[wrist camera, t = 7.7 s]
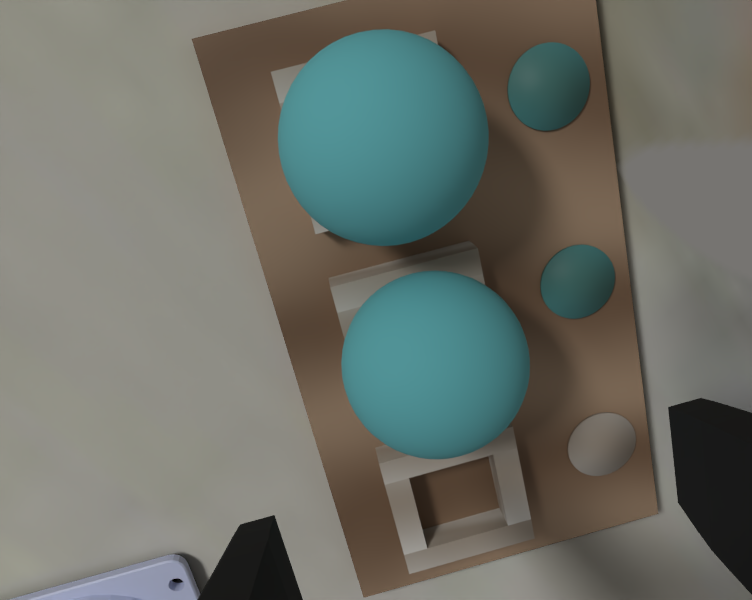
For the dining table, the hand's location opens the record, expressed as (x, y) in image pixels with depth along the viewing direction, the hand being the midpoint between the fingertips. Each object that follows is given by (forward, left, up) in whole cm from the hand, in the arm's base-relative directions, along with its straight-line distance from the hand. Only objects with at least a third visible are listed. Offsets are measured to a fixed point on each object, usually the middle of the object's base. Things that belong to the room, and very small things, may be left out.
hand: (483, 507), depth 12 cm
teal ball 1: (+6, 0, -6) cm, 9 cm away
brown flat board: (0, -2, -10) cm, 11 cm away
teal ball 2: (0, 0, -6) cm, 7 cm away
